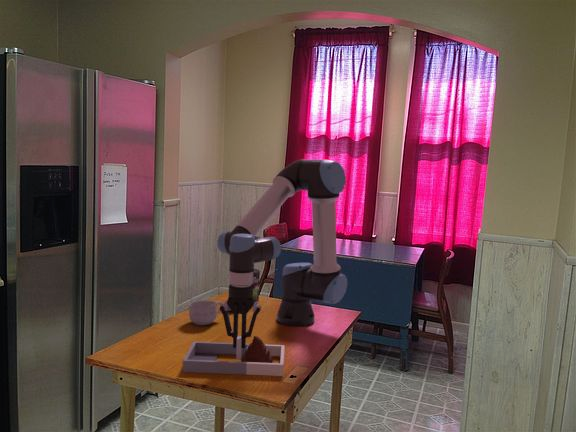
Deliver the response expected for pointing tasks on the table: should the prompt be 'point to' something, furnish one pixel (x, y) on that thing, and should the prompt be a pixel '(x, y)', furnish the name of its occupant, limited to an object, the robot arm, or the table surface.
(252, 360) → the poop emoji
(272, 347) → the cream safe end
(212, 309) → the teacup
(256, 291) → the coffee can
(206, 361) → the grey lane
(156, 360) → the table surface
